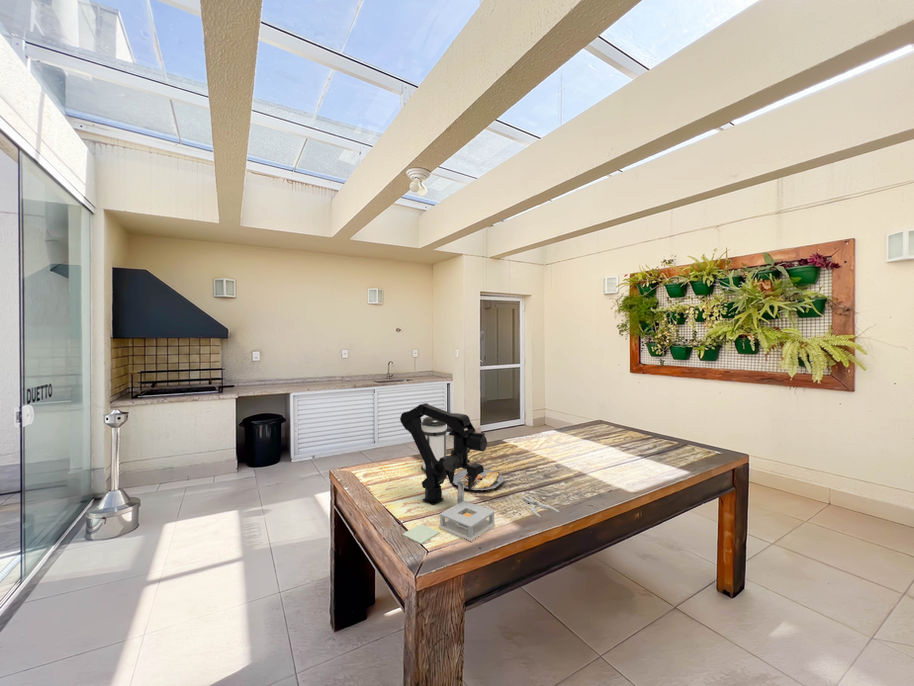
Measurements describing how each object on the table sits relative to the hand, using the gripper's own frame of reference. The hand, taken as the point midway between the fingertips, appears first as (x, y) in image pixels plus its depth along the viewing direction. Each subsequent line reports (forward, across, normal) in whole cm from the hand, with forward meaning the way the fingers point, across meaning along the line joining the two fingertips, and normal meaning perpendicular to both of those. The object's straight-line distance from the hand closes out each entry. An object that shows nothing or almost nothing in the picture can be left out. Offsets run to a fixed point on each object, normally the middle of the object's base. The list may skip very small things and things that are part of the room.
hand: (460, 486), depth 144 cm
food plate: (+9, -10, +26) cm, 29 cm away
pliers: (+9, +23, +20) cm, 32 cm away
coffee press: (+9, -36, +25) cm, 45 cm away
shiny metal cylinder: (+8, 0, 0) cm, 8 cm away
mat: (+8, +2, -24) cm, 25 cm away
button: (+6, +11, -10) cm, 16 cm away
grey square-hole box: (+8, +11, -10) cm, 17 cm away
